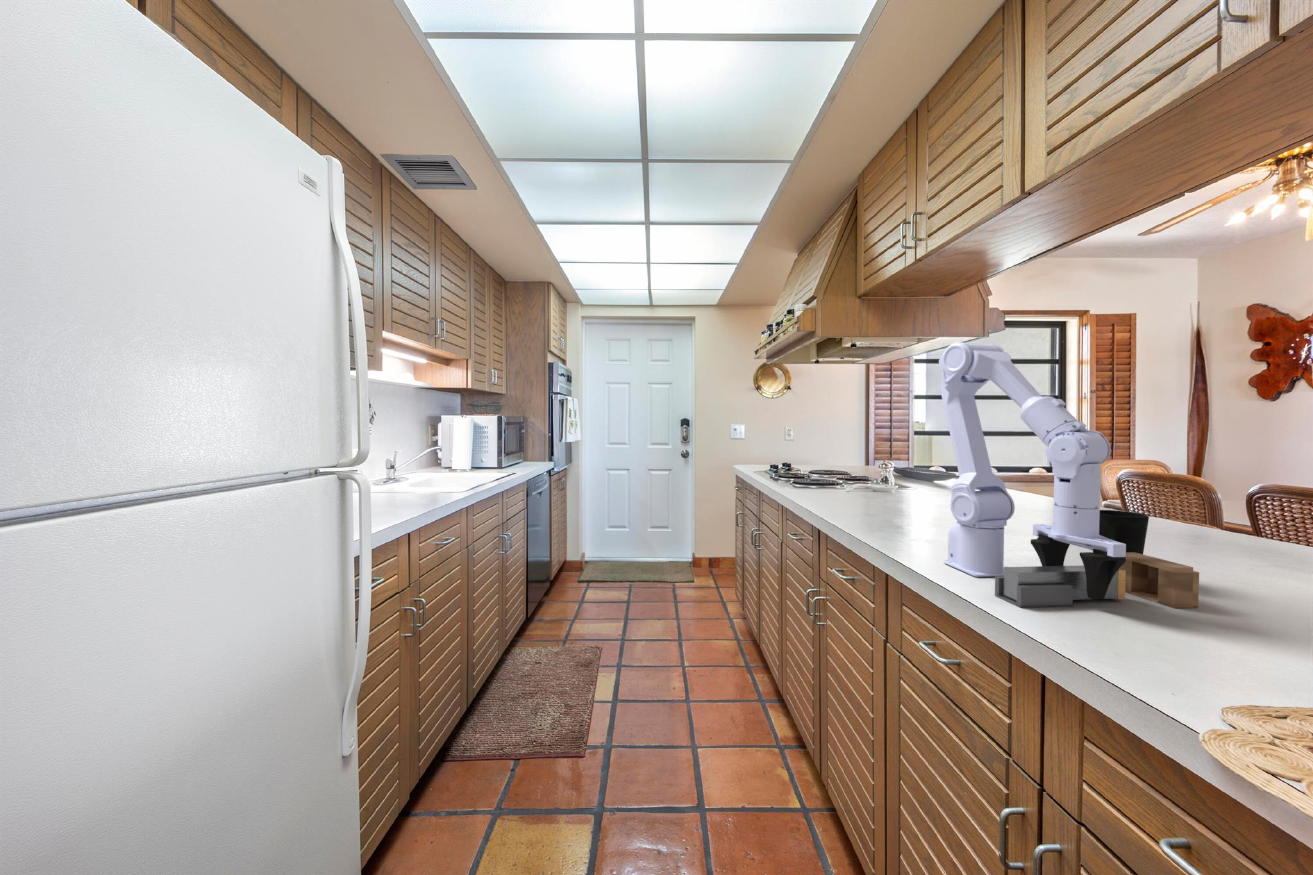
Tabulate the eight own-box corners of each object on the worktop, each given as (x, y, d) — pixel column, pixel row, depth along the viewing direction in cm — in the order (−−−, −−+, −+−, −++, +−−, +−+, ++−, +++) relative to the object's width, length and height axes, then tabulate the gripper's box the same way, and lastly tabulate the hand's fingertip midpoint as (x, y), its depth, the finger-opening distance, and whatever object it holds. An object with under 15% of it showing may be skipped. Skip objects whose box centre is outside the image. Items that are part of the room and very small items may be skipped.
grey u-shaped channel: (994, 595, 83) (995, 576, 83) (1043, 594, 84) (1043, 575, 83) (1020, 607, 78) (1021, 587, 78) (1072, 606, 78) (1072, 585, 78)
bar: (1002, 594, 82) (1003, 566, 82) (1106, 592, 83) (1107, 564, 83) (1017, 601, 79) (1018, 572, 79) (1124, 598, 80) (1125, 570, 80)
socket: (1116, 588, 86) (1117, 552, 86) (1138, 588, 87) (1139, 552, 87) (1174, 608, 77) (1175, 567, 77) (1198, 607, 78) (1199, 567, 78)
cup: (1158, 586, 88) (1160, 518, 87) (1107, 583, 89) (1109, 516, 89) (1127, 573, 95) (1128, 510, 95) (1080, 570, 97) (1082, 509, 96)
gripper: (1017, 499, 88) (1015, 576, 88) (1095, 514, 73) (1092, 606, 74) (1055, 499, 88) (1053, 575, 88) (1140, 514, 74) (1137, 605, 74)
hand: (1073, 589), depth 81 cm, fingers open, 7 cm apart
